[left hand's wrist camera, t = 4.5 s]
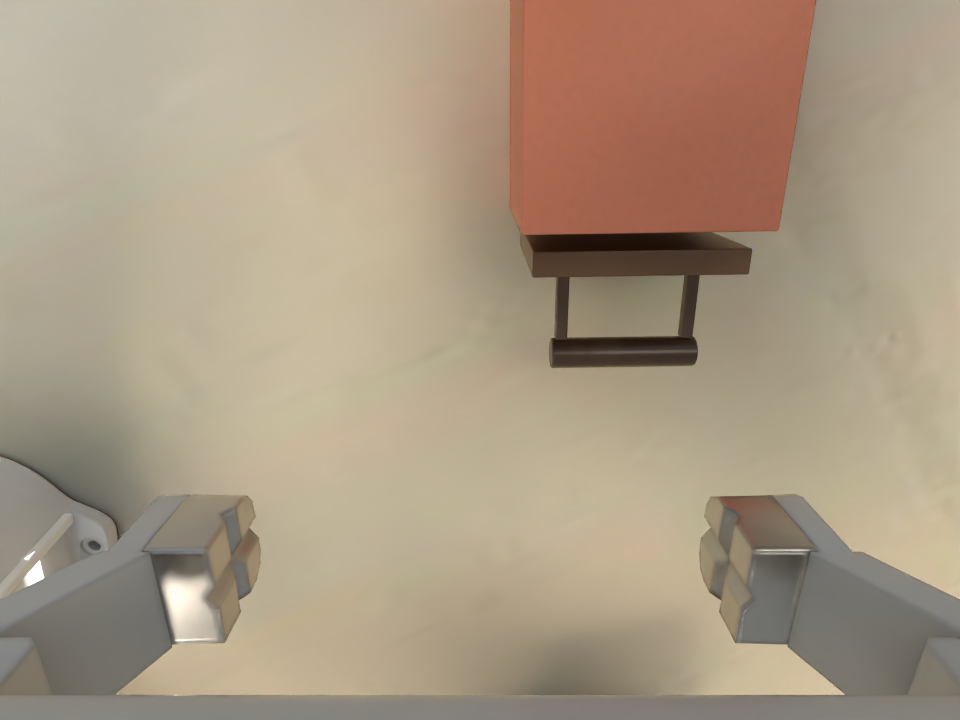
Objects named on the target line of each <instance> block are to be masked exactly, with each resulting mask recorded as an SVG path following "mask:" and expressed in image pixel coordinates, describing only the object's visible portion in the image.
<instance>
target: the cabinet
mask: <svg viewBox="0 0 960 720" xmlns="http://www.w3.org/2000/svg"><path fill="white" fill-rule="evenodd" d="M815 4H816V0H510V209H511V211H512V213H513V216H514V218H515V220H516V223H517V225H518V227H519V230H520V232H521V234H522V235H547V234H613V233H679V232H744V231H778V230H779V225H780V219H781V213H782V207H783V200H784V194H785V188H786V182H787V176H788V170H789V163H790V157H791V151H792V145H793V139H794V133H795V127H796V120H797V114H798V108H799V102H800V96H801V90H802V84H803V77H804V71H805V65H806V59H807V53H808V47H809V41H810V34H811V28H812V22H813V16H814V10H815Z"/></svg>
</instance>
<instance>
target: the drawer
mask: <svg viewBox="0 0 960 720" xmlns="http://www.w3.org/2000/svg"><path fill="white" fill-rule="evenodd" d="M521 248H522V251H523V253H524V256H525V258H526V261H527V264H528V266H529V269H530V272H531V274H532V277H556V301H555V333H554V336H555V338H551V339H550V343H549V361H550V366H551V367H552V368H578V367H649V366H693V365H694V364H695V363H696V360H697V355H698V348H697V342H696V339H695V338H694V337H693V336H692V335H693V327H694V318H695V310H696V302H697V293H698V285H699V276H700V275H736V274H749V268H750V262H751V255H752V249H751V248H749V247H746V246H744V245H742V244H739V243H737V242H734V241H732V240H729V239H727V238H724V237H722V236H719V235H717V234H715V233H712V232H679V233H613V234H547V235H522V234H521ZM668 275H684V284H683V293H682V302H681V311H680V320H679V330H678V335H679V336H655V337H586V338H567V326H568V300H569V277H601V276H668Z"/></svg>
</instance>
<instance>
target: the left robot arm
mask: <svg viewBox="0 0 960 720" xmlns="http://www.w3.org/2000/svg"><path fill="white" fill-rule="evenodd" d="M255 517H256V516H255V511H254V506H253V501H252V500H251V499H250V498H249V497H248V496H233V495H189V494H181V495H162V496H159V497H157V498H156V499H155V500H154V501H153V503H152V504H151V505H150V506H149V507H148V508H147V509H146V510H145V511H144V512H143V513H142V515H141V516H140V517H139V518H138V519H137V520H136V521H135V522H134V523H133V524H132V526H131V527H130V528H129V529H128V530H127V531H126V532H125V533H124V534H123V535H122V537H121V538H120V539H119V540H118V537H117V529H116V525H115V523H114V521H113V520H112V519H111V518H110V517H109V516H107V515H106V514H104V513H102V512H101V511H98V510H96V509H94V508H92V507H89V506H87V505H84V504H82V503H79V502H76V501H74V500H72V499H71V498H69V497H68V496H66V495H65V494H63V493H62V492H61V491H60V490H58V489H57V488H56V487H55V486H54V485H52V484H51V483H50V482H49V481H47V480H46V479H44V478H43V477H42V476H40V475H39V474H37V473H35V472H34V471H32V470H30V469H29V468H27V467H25V466H23V465H21V464H19V463H17V462H14V461H12V460H9V459H7V458H4V457H1V456H0V720H960V599H957V598H955V597H953V596H951V595H949V594H947V593H945V592H943V591H941V590H939V589H937V588H935V587H933V586H931V585H929V584H927V583H925V582H923V581H921V580H918V579H916V578H914V577H912V576H910V575H908V574H906V573H904V572H902V571H900V570H898V569H896V568H894V567H892V566H890V565H888V564H886V563H884V562H882V561H879V560H877V559H875V558H873V557H871V556H869V555H867V554H865V553H863V552H852V551H851V550H850V549H849V547H848V546H847V545H846V544H845V543H844V542H843V541H842V540H841V539H840V538H839V537H838V535H837V534H836V533H835V532H834V531H833V530H832V529H831V528H830V527H829V526H828V524H827V523H826V522H825V521H824V520H823V519H822V518H821V517H820V516H819V515H818V513H817V512H816V511H815V510H814V509H813V508H812V507H811V506H810V505H809V504H808V502H807V501H806V500H805V499H804V498H803V497H801V496H799V495H796V494H785V495H767V496H719V497H710V498H709V500H708V503H707V505H706V511H705V516H704V517H705V518H706V520H707V522H708V524H709V525H710V527H711V528H710V529H709V530H708V531H707V532H706V533H705V534H704V535H703V536H702V537H701V543H700V551H699V558H700V569H701V573H702V576H703V580H704V582H705V584H706V586H707V589H708V591H709V592H710V593H711V594H713V595H714V596H715V597H717V598H718V599H720V600H721V604H720V610H719V612H720V614H721V616H722V618H723V620H724V622H725V624H726V626H727V628H728V630H729V632H730V634H731V636H732V638H733V640H734V641H735V643H755V644H788V647H789V648H790V649H791V650H792V651H793V652H795V653H796V654H797V655H798V656H799V657H801V658H802V659H803V660H804V661H805V662H807V663H808V664H809V665H810V666H812V667H813V668H814V669H815V670H816V671H818V672H819V673H820V674H821V675H822V676H824V677H825V678H826V679H827V680H828V681H830V682H831V683H832V684H833V685H835V686H836V687H837V688H838V689H839V690H841V691H842V692H843V693H844V694H845V695H115V694H116V693H117V692H118V691H120V690H121V689H122V688H123V687H124V686H126V685H127V684H128V683H129V682H131V681H132V680H133V679H134V678H135V677H137V676H138V675H139V674H140V673H141V672H143V671H144V670H145V669H146V668H148V667H149V666H150V665H151V664H152V663H154V662H155V661H156V660H157V659H158V658H160V657H161V656H162V655H163V654H164V653H166V652H167V651H168V650H169V649H171V648H172V644H203V643H225V642H226V640H227V638H228V636H229V634H230V632H231V630H232V628H233V626H234V624H235V622H236V620H237V618H238V616H239V614H240V612H241V610H240V604H239V600H240V599H242V598H243V597H245V596H246V595H247V594H249V593H250V592H251V591H252V588H253V586H254V584H255V582H256V580H257V576H258V572H259V567H260V558H261V549H260V542H259V537H258V536H257V535H256V534H255V533H254V532H253V531H252V530H251V529H250V528H249V527H250V525H251V524H252V522H253V520H254V518H255ZM96 541H97V542H98V543H97V542H96Z"/></svg>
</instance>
